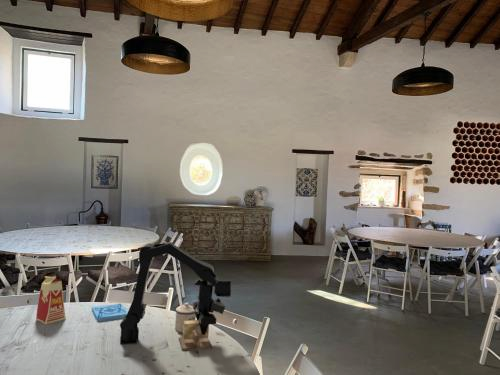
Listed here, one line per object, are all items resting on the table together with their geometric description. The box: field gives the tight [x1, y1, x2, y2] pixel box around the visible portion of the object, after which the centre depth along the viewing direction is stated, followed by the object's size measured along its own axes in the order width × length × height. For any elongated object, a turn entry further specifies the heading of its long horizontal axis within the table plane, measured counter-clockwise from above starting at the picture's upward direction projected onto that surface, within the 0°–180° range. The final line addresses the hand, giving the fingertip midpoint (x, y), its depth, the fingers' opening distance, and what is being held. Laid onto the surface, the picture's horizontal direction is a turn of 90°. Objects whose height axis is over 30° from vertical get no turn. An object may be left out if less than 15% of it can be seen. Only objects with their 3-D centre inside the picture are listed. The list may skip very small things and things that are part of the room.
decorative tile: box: [91, 303, 128, 322], centre depth 184 cm, size 14×14×2 cm
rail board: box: [178, 330, 213, 351], centre depth 159 cm, size 12×10×4 cm
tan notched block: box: [182, 319, 210, 339], centre depth 159 cm, size 10×3×6 cm, turn 108°
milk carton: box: [35, 275, 66, 325], centre depth 173 cm, size 9×9×20 cm
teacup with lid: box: [174, 302, 197, 334], centre depth 174 cm, size 12×9×12 cm
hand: (202, 332), depth 160 cm, fingers closed on tan notched block, 3 cm apart
